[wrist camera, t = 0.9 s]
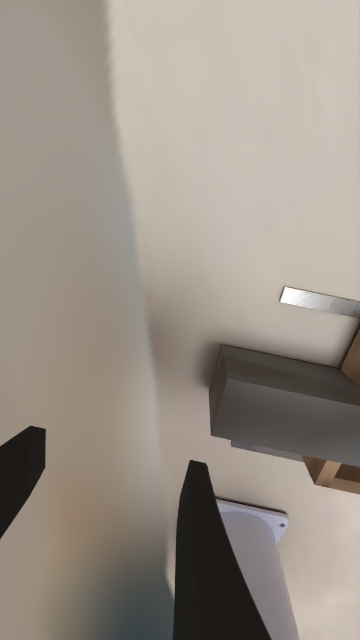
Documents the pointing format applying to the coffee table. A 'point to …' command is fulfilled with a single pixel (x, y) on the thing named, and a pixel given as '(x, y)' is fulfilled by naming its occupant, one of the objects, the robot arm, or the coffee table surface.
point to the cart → (292, 410)
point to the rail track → (312, 302)
